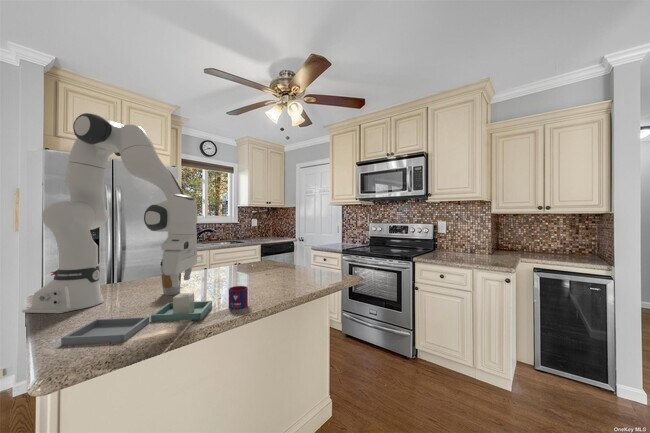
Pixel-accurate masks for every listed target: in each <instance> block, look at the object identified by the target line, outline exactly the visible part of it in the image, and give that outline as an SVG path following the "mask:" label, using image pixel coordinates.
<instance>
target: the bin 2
mask: <svg viewBox="0 0 650 433" xmlns="http://www.w3.org/2000/svg"><path fill="white" fill-rule="evenodd" d="M212 308H213V300H205V301H204V300H203V301H202V300H200V301H199V300H198V301H195V300H194V311H193V312H192V313H177V314H173V301H172V302H170V301H169V302H167V303H166V304H165V305H163V306H162V307H161V308H159V309H158V310H156V311H154V313H152V314H151V315H150V322H164V321H167V322H168V321H186V320H187V321H189V320H191V322H201V321H202V320H203V319H204V318H205V317H206V316H207V314H208V313H209V312H210V311H211V309H212Z"/></svg>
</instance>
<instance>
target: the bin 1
mask: <svg viewBox="0 0 650 433" xmlns="http://www.w3.org/2000/svg"><path fill="white" fill-rule="evenodd" d="M148 324H150V316H137V317H135V316H134V317H118V318H117V317H116V318H115V317H114V318H110V317H109V318H96V319H94V320H92V321H90V322H88V323H87V324H84V325H83V326H80V327H79V328H77V329H75V330H73V331H72V332H70V333H68V334H66V335H64V336H62V337H61V340H60V343H61V344H60V345H61V346H70V345H71V346H72V345H87V344H89V345H90V344H105V343H106V344H107V343H125V342H126V341H127V340H129V339H130V338H131V337H133V336H134V335H136V334H137V333H138V332H140V330H142V329H143V328H145V327H146V326H147V325H148Z"/></svg>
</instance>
